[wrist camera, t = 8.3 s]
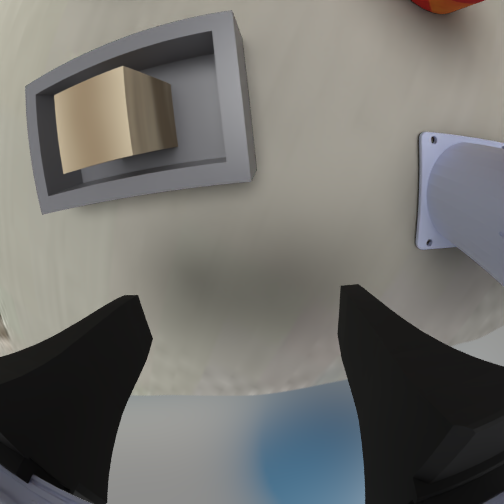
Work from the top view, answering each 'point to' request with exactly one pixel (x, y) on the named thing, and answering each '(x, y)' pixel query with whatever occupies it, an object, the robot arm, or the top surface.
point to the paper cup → (444, 5)
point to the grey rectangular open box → (184, 105)
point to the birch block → (113, 118)
